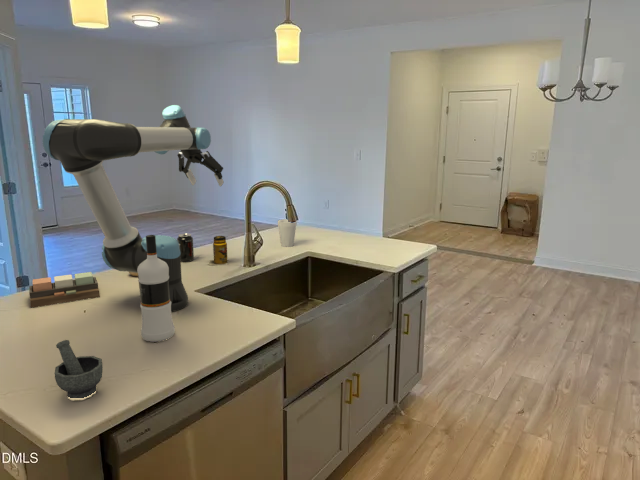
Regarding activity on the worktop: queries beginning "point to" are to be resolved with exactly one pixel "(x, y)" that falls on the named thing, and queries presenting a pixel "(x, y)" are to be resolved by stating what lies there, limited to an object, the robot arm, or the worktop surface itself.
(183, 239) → the beverage can
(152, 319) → the vodka
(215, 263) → the condiment
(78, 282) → the sage key
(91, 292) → the keypad
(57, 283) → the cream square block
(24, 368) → the worktop surface
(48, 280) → the terracotta key
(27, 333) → the worktop surface
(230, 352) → the worktop surface
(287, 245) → the foam cup
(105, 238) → the robot arm
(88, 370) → the mortar and pestle
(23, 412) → the worktop surface
